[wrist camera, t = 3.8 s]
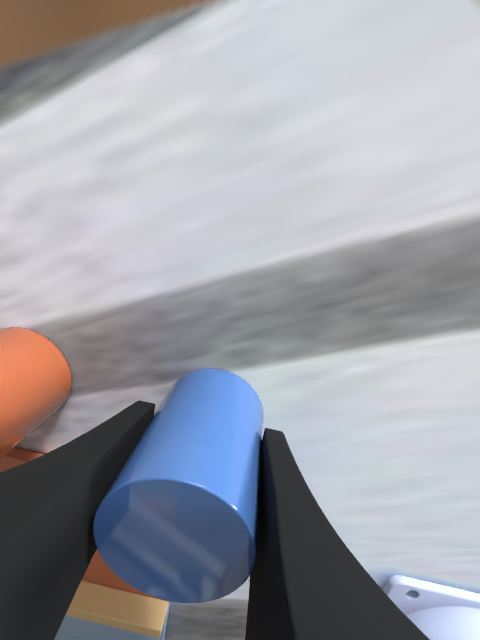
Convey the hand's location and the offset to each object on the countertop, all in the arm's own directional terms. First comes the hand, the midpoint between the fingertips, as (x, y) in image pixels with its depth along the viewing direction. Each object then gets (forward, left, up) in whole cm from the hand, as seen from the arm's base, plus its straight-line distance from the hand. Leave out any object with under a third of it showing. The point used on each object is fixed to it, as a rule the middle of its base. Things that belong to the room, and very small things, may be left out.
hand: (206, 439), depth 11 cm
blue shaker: (0, 0, -2) cm, 2 cm away
